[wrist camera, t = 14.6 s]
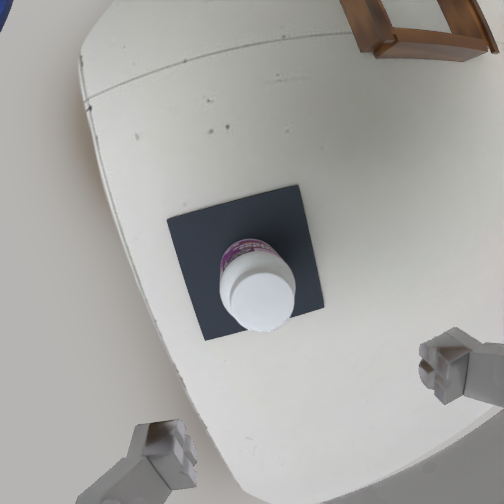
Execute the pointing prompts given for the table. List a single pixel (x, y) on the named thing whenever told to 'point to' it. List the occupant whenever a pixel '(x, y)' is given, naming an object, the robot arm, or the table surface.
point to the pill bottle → (256, 285)
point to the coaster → (233, 230)
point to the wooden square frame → (421, 32)
